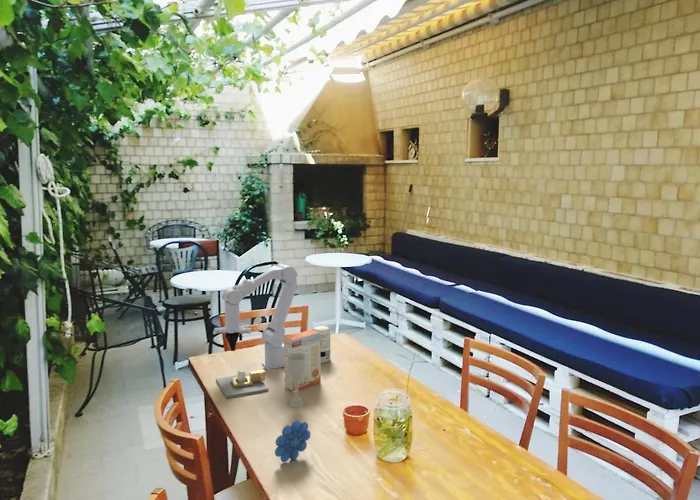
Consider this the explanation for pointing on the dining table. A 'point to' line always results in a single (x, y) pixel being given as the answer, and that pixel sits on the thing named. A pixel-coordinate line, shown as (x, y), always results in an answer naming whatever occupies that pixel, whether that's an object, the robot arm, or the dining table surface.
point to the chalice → (296, 374)
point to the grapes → (292, 441)
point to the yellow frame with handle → (249, 379)
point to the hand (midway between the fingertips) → (233, 350)
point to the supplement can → (324, 342)
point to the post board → (233, 391)
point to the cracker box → (311, 348)
